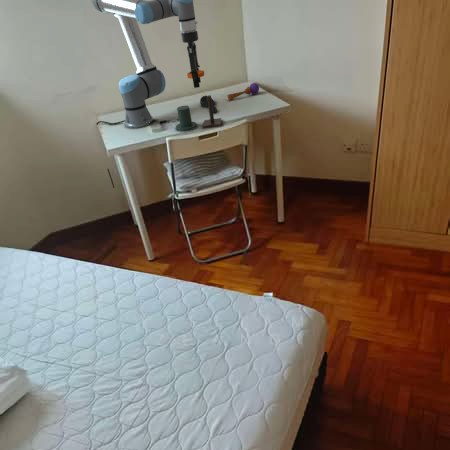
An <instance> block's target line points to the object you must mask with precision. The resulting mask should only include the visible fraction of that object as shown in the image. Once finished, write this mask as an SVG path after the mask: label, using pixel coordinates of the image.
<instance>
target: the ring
mask: <svg viewBox="0 0 450 450" xmlns="http://www.w3.org/2000/svg"><path fill="white" fill-rule="evenodd" d="M190 72H191V71H189V72H187V73H186V76H187V77H186V78H187V79H191V80H193V78H192V73H191V74H190ZM197 72H198V78H200V79H201V78H202V77H204V76H205V70H201V69H199V70H197Z"/></svg>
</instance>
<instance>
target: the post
mask: <svg viewBox="0 0 450 450" xmlns="http://www.w3.org/2000/svg"><path fill="white" fill-rule="evenodd" d="M206 96H207V99H208V107H207V108H208V113H209V119H204V120H203V129H209V128H216V127H217V128H219V127H222V118H221V117H218V118H217V117H216V118H215V116H214V113H213V107H212V100H211V98H212V95H211V94H209V95H208V94H207V95H206Z"/></svg>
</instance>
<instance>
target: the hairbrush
mask: <svg viewBox="0 0 450 450" xmlns="http://www.w3.org/2000/svg"><path fill="white" fill-rule="evenodd" d="M207 96H208V95H207V94H204V95H203V94H202V95H201V97H200V99H199V104H200V106H201V107H202V108H209V107H208V99H207ZM211 100H212V107H213V114H217V113H218V108H217V106H216V103H215V100H214V99H213V98H212V97H211Z"/></svg>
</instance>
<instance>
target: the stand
mask: <svg viewBox="0 0 450 450" xmlns="http://www.w3.org/2000/svg"><path fill="white" fill-rule="evenodd" d="M176 110H177V117H178V121H179V123H177V124H176V126H175V130H176V131H178V132H189V131H191V130H195V129H196V128H197V127H198V123H197V122H196V121H192V114H191V109H190V106H189V105H180V106H177V108H176Z"/></svg>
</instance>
